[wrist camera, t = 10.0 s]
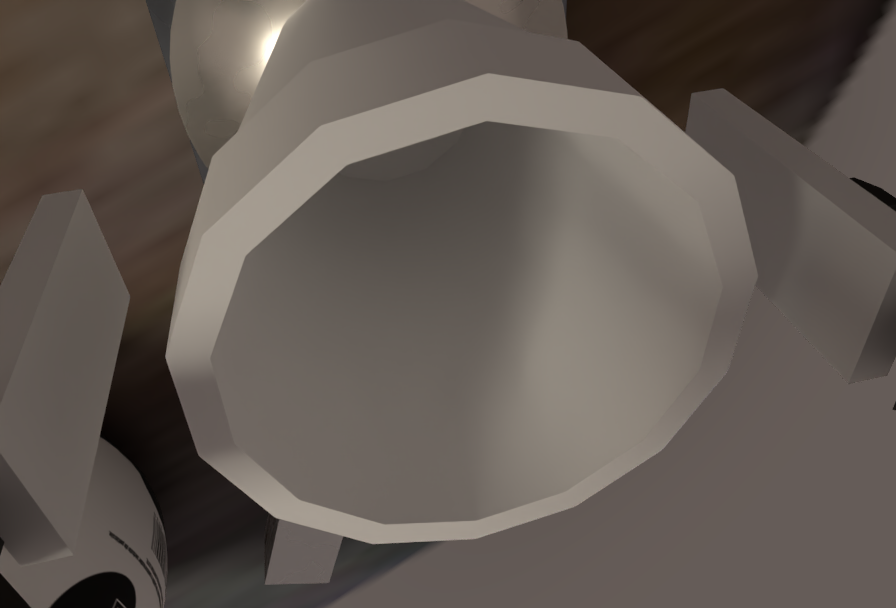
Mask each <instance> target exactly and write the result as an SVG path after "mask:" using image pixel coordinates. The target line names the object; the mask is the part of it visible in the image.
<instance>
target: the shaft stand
mask: <svg viewBox="0 0 896 608" xmlns="http://www.w3.org/2000/svg"><path fill="white" fill-rule="evenodd" d="M305 1H306V0H146V3H147V6H148V9H149V12H150V16H151V19H152V22H153V25H154V28H155V31H156V35H157V38H158V41H159V44H160V47H161V50H162V54H163V57H164V60H165V63H166V66H167V69H168V72H169V76H170V79H171V82H172V86H173V90H174V94H175V98H176V102H177V106H178V111H179V114H180V116H181V119H182V121H183V124H184V126H185V129H186V132H187V134H188V137H189V139H190V142H191V145H192V148H193V152H194V155H195V158H196V161H197V164H198V167H199V171H200V174H201V177H202V180H203V183H205V180H206V176H207V173H208V170H209V166H210V163H211V159H212V156H213V155H214V154H215V153H216V152H217V151H218V150H219V149H220V148H221V147H222V146H223V145H225V144H226V143H227V142H228V141H229V140H230V139H231V138H232V137H233V136H234V135H235V134H236V133H237V132H238V130H239V127H240V125H241V123H242V120H243V118H244V116H245V113H246V111H247V109H248V106H249V104H250V102H251V99H252V97H253V95H254V92H255V90H256V88H257V85H258V83H259V81H260V78H261V76H262V74H263V71H264V69H265V67H266V64H267V62H268V60H269V57H270V55H271V53H272V50H273V48H274V46H275V43H276V41H277V39H278V36H279V34H280V32H281V29H282V27H283V25H284V24H285V22H286V20H287V19H288V18H289V17H290V16H291V15H292V14H293V13H294V12H295V11H296V10H297V9H298V8H299V7H300V6H301V5H302V4H303V3H304V2H305ZM464 1H466V2H468V3H470V4H472V5H474V6H476V7H478V8H480V9H482V10H484V11H487V12H489V13H491V14H493V15H495V16H497V17H499V18H501V19H503V20H505V21H507V22H509V23H511V24H513V25H515V26H517V27H519V28H521V29H523V30H525V31H528V32H530V33H533V34H539V35H545V36H551V37H557V38H562V39H568V38H567V26H566V6H567V0H464ZM342 539H343V536H341V535H337V534H334V533H330V532H326V531H322V530H319V529H315V528H311V527H308V526H304V525H300V524H296V523H293V522H289V521H285V520H282V519H278V518H275V517H274V516H272V515H271V514H270V513H269V512H268V516H267V521H266V526H265V585H267V584H304V583H329V581H330V578H331V574H332V571H333V568H334V565H335V561H336V558H337V555H338V552H339V548H340V545H341V542H342Z"/></svg>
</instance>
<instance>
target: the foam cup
mask: <svg viewBox="0 0 896 608" xmlns="http://www.w3.org/2000/svg"><path fill="white" fill-rule="evenodd" d="M757 278H758V273H757V269H756V264H755V260H754V256H753V252H752V248H751V243H750V239H749V235H748V231H747V227H746V222H745V218H744V214H743V210H742V205H741V201H740V197H739V193H738V189H737V184H736V180H735V176H734V175H733V174H732V173H731V172H730V171H728V170H727V169H726V168H725V167H724V166H723V165H722V164H720V163H719V162H718V161H717V160H716V159H715V158H714V157H712V156H711V155H710V154H709V153H708V152H707V151H706V150H704V149H703V148H702V147H701V146H700V145H699V144H698V143H696V142H695V141H694V140H693V139H692V138H691V137H689V136H688V135H687V134H686V133H685V132H684V131H683V130H681V129H680V128H679V127H678V126H677V125H676V124H675V123H673V122H672V121H671V120H670V119H669V118H668V117H667V116H665V115H664V114H663V113H662V112H661V111H660V110H658V109H657V108H656V107H655V106H654V105H653V104H651V103H650V102H649V101H648V100H647V99H646V98H644V97H643V96H642V95H641V94H640V93H639V92H637V91H636V90H635V89H634V88H633V87H631V86H630V85H629V84H628V83H627V82H626V81H624V80H623V79H622V78H621V77H620V76H619V75H617V74H616V73H615V72H614V71H613V70H612V69H610V68H609V67H608V66H607V65H606V64H605V63H603V62H602V61H601V60H600V59H599V58H598V57H596V56H595V55H594V54H593V53H592V52H591V51H589V50H588V49H587V48H586V47H585V46H583V45H582V44H581V43H580V42H579V41H574V40H568V39H562V38H557V37H551V36H545V35H539V34H533V33H530V32H528V31H525V30H523V29H521V28H519V27H517V26H515V25H513V24H511V23H509V22H507V21H505V20H503V19H501V18H499V17H497V16H495V15H493V14H491V13H489V12H487V11H484V10H482V9H480V8H478V7H476V6H474V5H472V4H470V3H468V2H466V1H464V0H306V1H305V2H304V3H303V4H302V5H301V6H300V7H299V8H298V9H297V10H296V11H295V12H294V13H293V14H292V15H291V16H290V17H289V18H288V19H287V20H286V22H285V24H284V25H283V27H282V29H281V32H280V34H279V36H278V39H277V41H276V43H275V46H274V48H273V50H272V53H271V55H270V57H269V60H268V62H267V64H266V67H265V69H264V71H263V74H262V76H261V78H260V81H259V83H258V85H257V88H256V90H255V92H254V95H253V97H252V99H251V102H250V104H249V106H248V109H247V111H246V113H245V116H244V118H243V120H242V123H241V125H240V127H239V130H238V132H237V133H236V134H235V135H234V136H233V137H232V138H231V139H230V140H229V141H228V142H227V143H226V144H225V145H223V146H222V147H221V148H220V149H219V150H218V151H217V152H216V153H215V154H214V155H213V156H212V159H211V163H210V166H209V170H208V173H207V176H206V180H205V183H204V187H203V190H202V193H201V197H200V200H199V204H198V207H197V210H196V214H195V217H194V221H193V224H192V227H191V231H190V234H189V238H188V241H187V244H186V248H185V251H184V255H183V258H182V261H181V265H180V270H179V276H178V282H177V288H176V294H175V300H174V306H173V312H172V318H171V324H170V331H169V337H168V343H167V349H166V355H165V358H166V361H167V364H168V367H169V370H170V373H171V376H172V379H173V382H174V385H175V388H176V391H177V394H178V397H179V400H180V403H181V405H182V408H183V411H184V414H185V417H186V420H187V423H188V426H189V429H190V432H191V435H192V438H193V441H194V444H195V447H196V450H197V453H198V456H199V457H201V458H202V459H203V460H204V461H206V462H207V463H208V464H209V465H211V466H212V467H213V468H214V469H216V470H217V471H218V472H219V473H221V474H222V475H223V476H224V477H225V478H227V479H228V480H229V481H230V482H232V483H233V484H234V485H235V486H237V487H238V488H239V489H240V490H242V491H243V492H244V493H245V494H246V495H248V496H249V497H250V498H251V499H253V500H254V501H255V502H256V503H258V504H259V505H260V506H261V507H263V508H264V509H265V510H266V511H268V512H269V513H270V514H271V515H272V516H274V517H275V518H278V519H282V520H285V521H289V522H293V523H296V524H300V525H304V526H308V527H311V528H315V529H319V530H322V531H326V532H330V533H334V534H337V535H341V536H345V537H349V538H352V539H356V540H360V541H363V542H367V543H371V544H383V543H403V542H424V541H444V540H463V539H477V538H480V537H483V536H486V535H489V534H492V533H495V532H499V531H502V530H505V529H507V528H511V527H513V526H517V525H520V524H523V523H526V522H529V521H532V520H535V519H538V518H541V517H545V516H548V515H550V514H554V513H557V512H560V511H563V510H566V509H569V508H572V507H575V506H577V505H578V504H580V503H581V502H583V501H584V500H586V499H587V498H589V497H591V496H592V495H594V494H595V493H597V492H598V491H600V490H601V489H603V488H604V487H606V486H607V485H609V484H611V483H612V482H613V481H615V480H617V479H618V478H620V477H621V476H623V475H624V474H626V473H627V472H629V471H631V470H632V469H634V468H635V467H637V466H638V465H640V464H641V463H643V462H644V461H646V460H647V459H648V458H650V457H652V456H654V455H655V454H657V453H658V452H660V451H661V450H663V448H664V447H665V446H666V445H667V443H668V442H669V441H670V440H671V439H672V437H673V436H674V435H675V434H676V433H677V432H678V430H679V429H680V428H681V427H682V426H683V424H684V423H685V422H686V421H687V419H688V418H689V417H690V416H691V415H692V414H693V413H694V411H695V410H696V409H697V408H698V406H699V405H700V404H701V403H702V402H703V401H704V399H705V398H706V397H707V396H708V395H709V393H710V392H711V391H712V390H713V389H714V387H715V386H716V385H717V384H718V383H719V381H720V380H721V379H722V378H723V377H724V375H725V374H726V373H727V372H728V370H729V366H730V363H731V360H732V357H733V354H734V351H735V347H736V344H737V341H738V338H739V335H740V331H741V328H742V325H743V322H744V319H745V315H746V313H747V310H748V306H749V303H750V300H751V297H752V294H753V291H754V287H755V284H756V281H757Z"/></svg>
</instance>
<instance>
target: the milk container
mask: <svg viewBox="0 0 896 608" xmlns="http://www.w3.org/2000/svg"><path fill="white" fill-rule="evenodd" d="M0 573H1V574H2V576H3V577H4V578H5V579H6V580H7V581H8V582H9V583H10V584H11V586H12V587H13V588H14V589H15V590H16V591H17V592H18V593H19V595H20V596H21V597H22V598H23V599H24V600H25V601H26V602H27V604H28V605H29V606H30V607H31V608H164V603H165V597H166V587H167V546H166V537H165V529H164V522H163V516H162V513H161V509H160V506H159V503H158V501H157V499H156V496H155V494H154V493H153V491H152V489H151V487H150V485H149V483H148V482H147V480H146V478H145V476H144V474H143V473H142V472H141V471H140V470H139V469H138V467H137V466H136V465H135V464H134V463H133V462H132V461H131V460H130V459H129V458H128V457H127V456H126V455H125V454H124V453H123V452H122V451H121V450H120V449H119V448H118V447H116V446H115V445H114V444H113V443H112V442H111V441H109V440H108V439H107V438H106V437H104V436H103V435H101V434H100V437H99V442H98V446H97V451H96V455H95V460H94V465H93V469H92V474H91V478H90V483H89V487H88V492H87V497H86V501H85V506H84V510H83V515H82V519H81V524H80V528H79V533H78V538H77V542H76V547H75V551H74V555H72V556H67V557H63V558H58V559H54V560H49V561H45V562H40V563H36V564H31V565H27V566H22V567H21V566H20V565H19V564H18V563H17V561H16V560H15V559H14V558H13V556H12V555H11V554H10V553H9V552H8V550H7V549H6V548H5V547H4V545H3V549H2V552H1V555H0Z"/></svg>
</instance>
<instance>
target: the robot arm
mask: <svg viewBox="0 0 896 608" xmlns="http://www.w3.org/2000/svg"><path fill="white" fill-rule="evenodd" d="M685 133H686V134H687V135H688V136H689V137H691V138H692V139H693V140H694V141H695V142H696V143H698V144H699V145H700V146H701V147H702V148H703V149H704V150H706V151H707V152H708V153H709V154H710V155H711V156H712V157H714V158H715V159H716V160H717V161H718V162H719V163H720V164H722V165H723V166H724V167H725V168H726V169H727V170H728V171H730V172H731V173H732V174H733V175H734V176H735V180H736V184H737V189H738V193H739V197H740V201H741V205H742V210H743V214H744V218H745V222H746V227H747V231H748V235H749V239H750V243H751V248H752V252H753V256H754V260H755V264H756V269H757V273H758V278H757V281H756V284H755V285H756V286H757V287H758V289H759V290H760V291H761V292H762V293H763V294H764V295H765V296H766V297H767V298H768V299H769V300H770V301H771V302H772V304H773V305H774V306H775V307H776V308H777V309H778V310H779V311H780V312H781V313H782V314H783V315H784V316H785V317H786V318H787V319H788V320H789V321H790V322H791V324H792V325H793V326H794V327H796V329H797V330H798V331H799V332H800V333H801V334H802V335H803V336H804V337H805V338H806V340H807V341H808V342H809V343H810V344H811V345H812V346H813V347H814V348H815V349H816V350H817V351H818V352H819V353H820V354H821V355H822V356H823V358H824V359H825V360H826V361H827V362H828V363H829V364H830V365H831V366H832V367H833V368H834V369H835V370H836V371H837V372H838V373H839V374H840V376H841V377H842V378H843V379H844V380H845V381H846V382H847V383H848V384H850V383H855V382H859V381H864V380H869V379H873V378H878V377H882V376H887V374H888V372H889V370H890V368H891V366H892V364H893V362H894V359H895V357H896V198H895V197H893V196H892V195H890V194H889V193H887V192H886V191H884V190H883V189H881V188H879V187H877V186H874V185H872V184H869V183H867V182H864V181H862V180H859V179H856V178H848V177H846V176H845V175H844V174H842V173H841V172H840V171H838V170H837V169H835V168H834V167H833V166H831V165H830V164H828V163H827V162H826V161H824V160H823V159H821V158H820V157H819V156H817V155H816V154H814V153H813V152H812V151H810V150H809V149H807V148H806V147H805V146H803V145H802V144H801V143H799V142H798V141H796V140H795V139H794V138H792V137H791V136H789V135H788V134H787V133H785V132H784V131H782V130H781V129H780V128H778V127H777V126H775V125H774V124H773V123H771V122H770V121H768V120H767V119H766V118H764V117H763V116H761V115H760V114H759V113H757V112H756V111H754V110H753V109H752V108H750V107H749V106H747V105H746V104H745V103H743V102H742V101H740V100H739V99H738V98H736V97H735V96H733V95H732V94H731V93H729V92H728V91H726V90H725V89H724V88H721V89H715V90H708V91H702V92H696V93H691V100H690V106H689V113H688V119H687V125H686V132H685ZM129 300H130V295H129V293H128V290H127V288H126V286H125V284H124V281H123V279H122V277H121V275H120V272H119V270H118V268H117V266H116V263H115V261H114V259H113V257H112V254H111V252H110V250H109V248H108V245H107V243H106V241H105V238H104V236H103V234H102V232H101V229H100V227H99V225H98V223H97V220H96V218H95V216H94V214H93V211H92V209H91V207H90V205H89V202H88V200H87V198H86V196H85V193H84V191H83V189H79V190H73V191H67V192H60V193H54V194H48V195H42V198H41V200H40V202H39V204H38V206H37V208H36V210H35V213H34V215H33V217H32V219H31V221H30V223H29V225H28V228H27V230H26V232H25V234H24V236H23V238H22V240H21V243H20V245H19V247H18V249H17V251H16V253H15V255H14V258H13V260H12V262H11V264H10V266H9V268H8V271H7V273H6V275H5V277H4V279H3V281H2V283H1V286H0V555H1V552H2V549H3V545H4V547H5V548H6V549H7V550H8V552H9V553H10V554H11V555H12V556H13V558H14V559H15V560H16V561H17V563H18V564H19V565H20V566H21V567H22V566H27V565H31V564H36V563H40V562H45V561H49V560H54V559H58V558H63V557H67V556H72V555H74V551H75V547H76V542H77V538H78V533H79V528H80V524H81V519H82V515H83V510H84V506H85V501H86V497H87V492H88V487H89V483H90V478H91V474H92V469H93V465H94V460H95V455H96V451H97V446H98V442H99V437H100V433H101V428H102V423H103V419H104V414H105V410H106V405H107V401H108V396H109V391H110V387H111V382H112V378H113V373H114V369H115V364H116V360H117V355H118V350H119V346H120V341H121V337H122V332H123V328H124V323H125V318H126V314H127V309H128V305H129ZM893 410H896V402H895V405H894V407H893ZM0 608H31V607H30V606H29V605H28V604H27V602H26V601H25V600H24V599H23V598H22V597H21V596H20V595H19V593H18V592H17V591H16V590H15V589H14V588H13V587H12V586H11V584H10V583H9V582H8V581H7V580H6V579H5V578H4V577H3V576H2V574H1V573H0Z"/></svg>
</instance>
